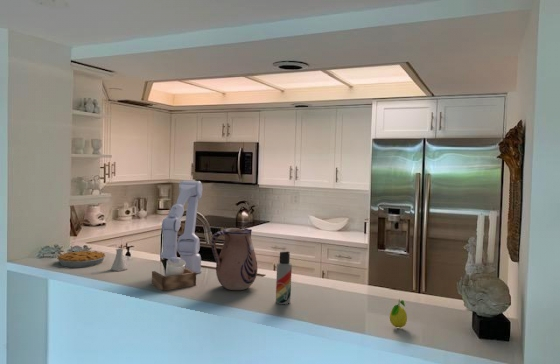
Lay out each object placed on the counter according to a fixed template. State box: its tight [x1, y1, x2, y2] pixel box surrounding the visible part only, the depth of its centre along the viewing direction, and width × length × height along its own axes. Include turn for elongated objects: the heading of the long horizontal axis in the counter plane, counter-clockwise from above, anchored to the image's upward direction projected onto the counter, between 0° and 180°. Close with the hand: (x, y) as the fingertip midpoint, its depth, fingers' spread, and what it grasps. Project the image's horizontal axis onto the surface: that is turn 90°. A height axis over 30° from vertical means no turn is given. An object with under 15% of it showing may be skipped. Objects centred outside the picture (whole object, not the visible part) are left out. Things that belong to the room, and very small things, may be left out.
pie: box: [57, 250, 106, 268], centre depth 219 cm, size 22×22×5 cm
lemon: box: [389, 298, 408, 328], centre depth 143 cm, size 7×6×10 cm
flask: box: [110, 248, 128, 272], centre depth 208 cm, size 7×7×10 cm
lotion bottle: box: [275, 251, 293, 305], centre depth 166 cm, size 6×6×20 cm
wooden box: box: [151, 268, 197, 291], centre depth 185 cm, size 15×12×6 cm
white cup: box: [164, 257, 186, 276], centre depth 185 cm, size 8×8×10 cm
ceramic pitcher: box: [210, 227, 258, 291], centre depth 183 cm, size 18×21×25 cm
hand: (168, 276), depth 188 cm, fingers closed, pressing on white cup
